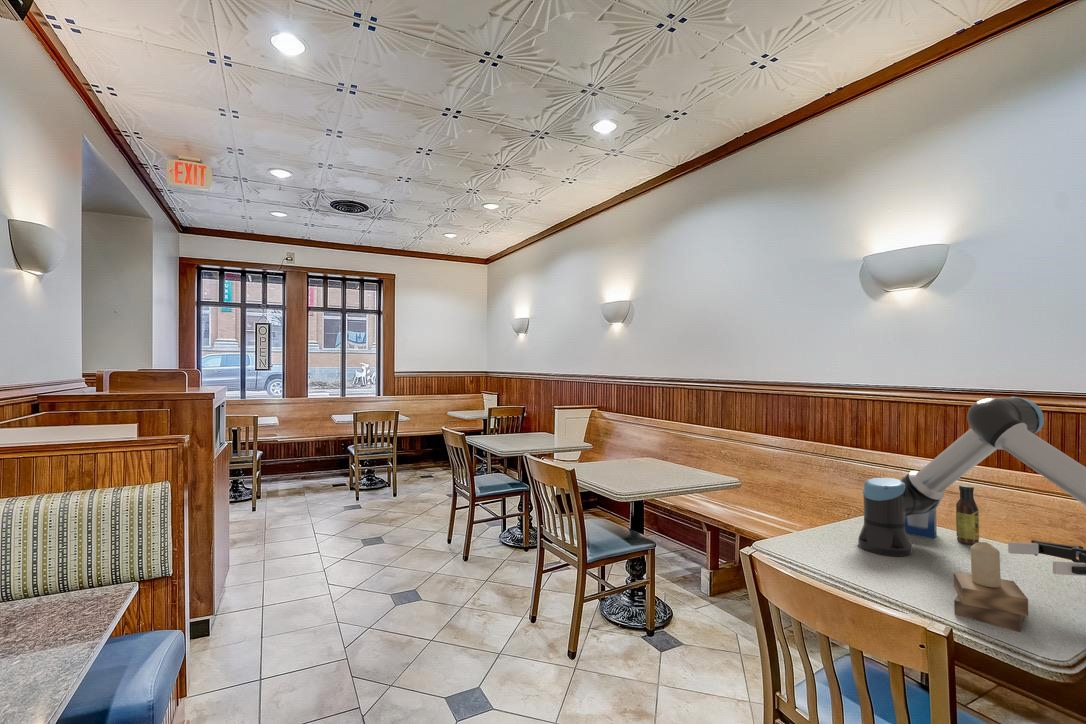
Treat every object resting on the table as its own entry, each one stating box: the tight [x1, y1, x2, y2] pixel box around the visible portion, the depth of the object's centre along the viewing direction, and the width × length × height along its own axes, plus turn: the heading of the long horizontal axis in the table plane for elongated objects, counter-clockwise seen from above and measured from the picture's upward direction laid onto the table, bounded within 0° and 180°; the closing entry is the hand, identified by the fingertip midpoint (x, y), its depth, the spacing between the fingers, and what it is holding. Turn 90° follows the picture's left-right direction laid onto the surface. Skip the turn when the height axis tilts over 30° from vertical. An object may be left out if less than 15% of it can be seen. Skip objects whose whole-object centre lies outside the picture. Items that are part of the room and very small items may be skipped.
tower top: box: [953, 571, 1029, 617], centre depth 127 cm, size 12×12×4 cm
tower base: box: [953, 594, 1026, 633], centre depth 127 cm, size 12×12×4 cm
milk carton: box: [901, 476, 938, 539], centre depth 191 cm, size 10×6×20 cm, turn 46°
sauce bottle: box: [955, 484, 980, 545], centre depth 181 cm, size 7×6×20 cm
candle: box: [970, 541, 1002, 588], centre depth 128 cm, size 6×6×10 cm
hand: (1030, 557), depth 126 cm, fingers open, 13 cm apart
